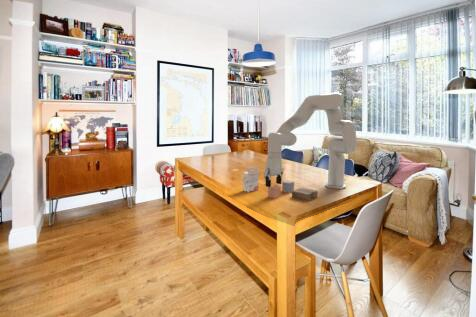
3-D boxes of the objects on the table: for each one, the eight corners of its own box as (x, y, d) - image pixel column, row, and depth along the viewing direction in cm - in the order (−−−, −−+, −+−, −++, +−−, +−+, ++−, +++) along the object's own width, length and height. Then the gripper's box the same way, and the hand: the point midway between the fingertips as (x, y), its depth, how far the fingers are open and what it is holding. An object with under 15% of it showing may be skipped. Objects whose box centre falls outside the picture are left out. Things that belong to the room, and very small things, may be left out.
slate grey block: (287, 189, 157) (287, 180, 156) (293, 191, 154) (294, 181, 153) (282, 191, 154) (282, 181, 153) (289, 193, 150) (289, 183, 149)
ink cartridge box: (253, 188, 161) (253, 165, 159) (258, 190, 157) (258, 166, 155) (242, 190, 156) (242, 167, 154) (247, 192, 152) (247, 168, 150)
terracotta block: (273, 194, 147) (273, 184, 146) (280, 196, 144) (280, 186, 143) (267, 196, 144) (268, 186, 143) (275, 198, 140) (275, 188, 139)
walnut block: (301, 193, 149) (301, 187, 149) (317, 197, 142) (317, 190, 142) (291, 197, 143) (292, 190, 142) (307, 201, 135) (307, 194, 135)
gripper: (278, 153, 149) (277, 181, 151) (259, 155, 136) (258, 186, 139) (289, 154, 143) (287, 183, 146) (270, 157, 131) (269, 189, 134)
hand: (273, 185), depth 143 cm, fingers open, 9 cm apart
